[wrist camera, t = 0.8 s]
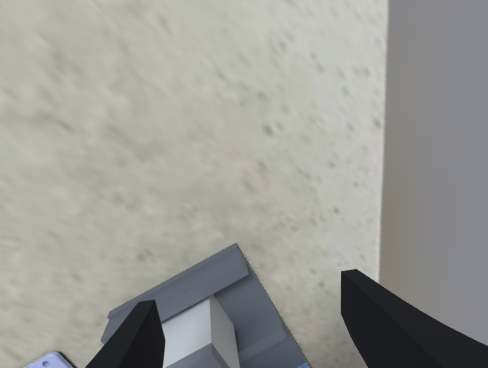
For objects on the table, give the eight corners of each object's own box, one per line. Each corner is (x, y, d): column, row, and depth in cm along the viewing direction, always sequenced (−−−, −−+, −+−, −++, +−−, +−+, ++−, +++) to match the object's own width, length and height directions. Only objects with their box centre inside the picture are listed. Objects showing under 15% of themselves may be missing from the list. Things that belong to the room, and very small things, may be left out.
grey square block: (190, 348, 23) (186, 428, 17) (163, 313, 22) (149, 387, 16) (233, 324, 23) (244, 397, 17) (209, 288, 22) (211, 353, 16)
